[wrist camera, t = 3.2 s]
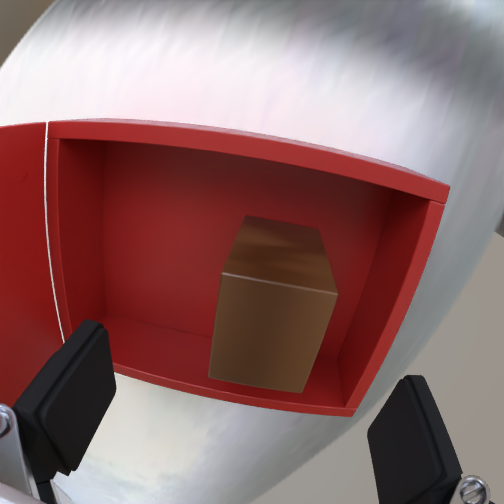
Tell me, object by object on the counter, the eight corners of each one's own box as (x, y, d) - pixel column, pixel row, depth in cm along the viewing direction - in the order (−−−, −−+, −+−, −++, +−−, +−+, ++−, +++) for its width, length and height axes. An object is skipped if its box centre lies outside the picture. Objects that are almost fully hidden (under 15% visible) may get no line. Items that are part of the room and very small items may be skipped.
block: (318, 228, 17) (339, 293, 10) (298, 307, 19) (302, 394, 12) (244, 214, 17) (220, 272, 10) (231, 295, 19) (207, 378, 12)
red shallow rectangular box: (406, 167, 16) (450, 186, 11) (341, 360, 21) (352, 417, 16) (104, 118, 16) (47, 121, 11) (103, 312, 21) (67, 355, 16)
